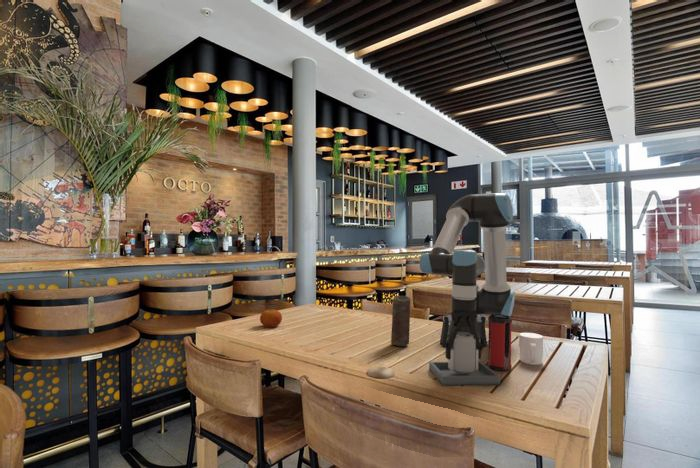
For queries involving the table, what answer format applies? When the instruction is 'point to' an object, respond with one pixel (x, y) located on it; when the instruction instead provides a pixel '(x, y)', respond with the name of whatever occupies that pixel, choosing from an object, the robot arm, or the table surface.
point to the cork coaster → (381, 372)
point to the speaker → (499, 342)
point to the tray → (464, 375)
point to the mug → (531, 348)
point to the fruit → (271, 318)
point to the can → (464, 353)
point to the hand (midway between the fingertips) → (463, 368)
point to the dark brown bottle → (400, 321)
